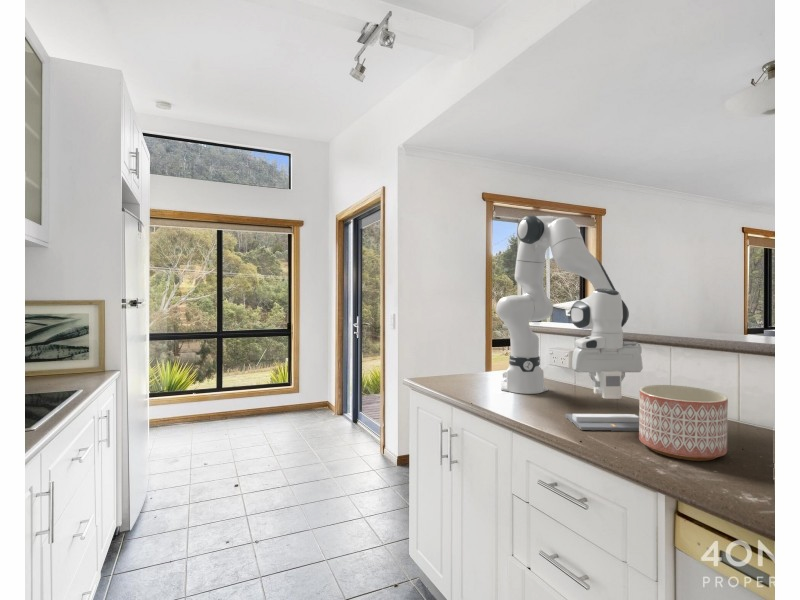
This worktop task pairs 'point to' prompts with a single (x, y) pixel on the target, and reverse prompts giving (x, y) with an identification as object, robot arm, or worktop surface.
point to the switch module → (609, 384)
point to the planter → (683, 421)
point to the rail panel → (606, 425)
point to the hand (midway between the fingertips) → (606, 386)
